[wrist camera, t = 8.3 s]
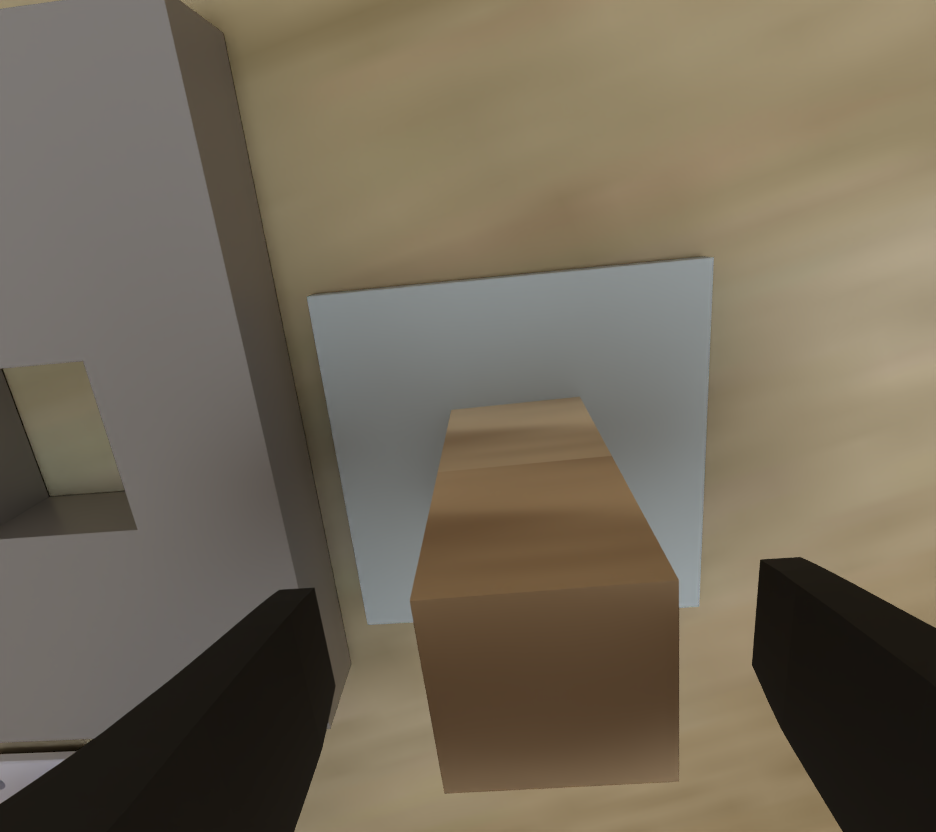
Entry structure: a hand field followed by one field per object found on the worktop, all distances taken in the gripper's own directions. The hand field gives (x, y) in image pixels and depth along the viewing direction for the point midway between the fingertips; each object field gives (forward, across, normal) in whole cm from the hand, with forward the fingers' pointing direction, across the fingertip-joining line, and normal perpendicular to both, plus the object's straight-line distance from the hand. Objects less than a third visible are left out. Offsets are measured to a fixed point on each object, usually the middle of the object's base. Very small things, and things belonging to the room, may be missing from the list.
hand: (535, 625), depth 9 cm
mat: (+7, 0, 0) cm, 7 cm away
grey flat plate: (+7, +12, -2) cm, 14 cm away
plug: (+6, 0, 0) cm, 7 cm away
